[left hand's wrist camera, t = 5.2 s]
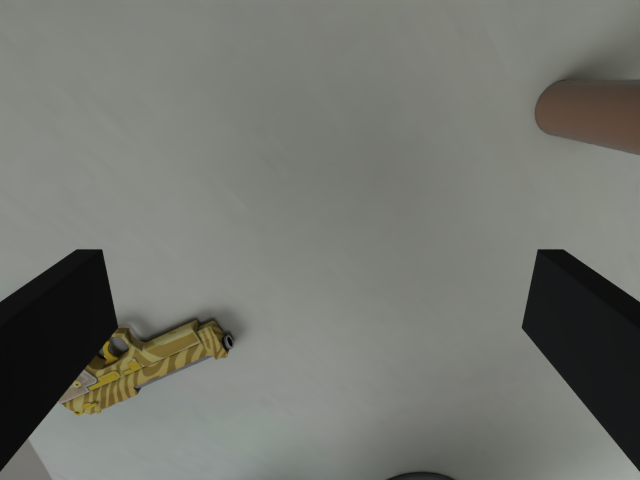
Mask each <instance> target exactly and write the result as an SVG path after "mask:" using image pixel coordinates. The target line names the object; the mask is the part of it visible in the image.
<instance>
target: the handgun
mask: <svg viewBox="0 0 640 480" xmlns="http://www.w3.org/2000/svg"><path fill="white" fill-rule="evenodd" d="M112 337H120V338H122V339H123V340H124V341H125V342H126V343H127V345H128V346H129V350H128V351H127V352H125V353H123V354H121V355H119V356H114V355H113V354H112V353H111V352H110V350H109V344H110V342H111V341H110V340H108V341H107V342H106V343H105V345H104V346H103V351H104V353H105V354H104V357H105V358H106V359H107V360H104V359H101V358H99V357H98V356H97V355H96V356H95V357H94V358H93V359H92V360H91V362H90V363H89V364H88V365H87V367H86V368H85V369H84V370H83V371H82V373H81V374H80V375H79V376H78V378H77V379H76V380H75V381H74V382H73V384H72V385H71V386H70V387H69V388H68V390H67V391H66V392H65V393H64V395H63V396H62V397H61V398H60V399H59V401H58V402H57V403H58V404H63V405H64V406H65V407H66V408H67V409H69V410H72V411H73V412H74V413H75V414H76V415H82V414H83V413H85V414H90V415H91V414H93V413H95V412H97V413H101V410H102V409H105V408H107V407H109V406H112V405H114V404H116V403H119V402H121V401H123V400H125V399H128V398H130V397H132V396H135V395H137V394H138V393H139V391H140V389H141V387H143V386H146V385H148V384H150V383H152V382H155V381H157V380H159V379H162V378H164V377H166V376H169V375H171V374H173V373H176V372H178V371H180V370H183V369H185V368H187V367H190V366H192V365H194V364H197V363H199V362H201V361H204V360H206V359H208V358H210V357H213V356H214V358H215V359H216V360H217V359H220V358H225V357H227V356H228V352H229V349H231V348H233V346H234V343H233V340H232V338H231V337H230V336H229V335H227V336H225V335H224V334H223V332H222V331H221V330H220V329H219V326H218V325H217V323H216V322H215V321H210V322H208V323H206V324H203V325H201V326H200V324H199V323H198V321H197V320H194V321H192V322H190V323H188V324H185V325H183V326H181V327H179V328H177V329H174V330H172V331H170V332H168V333H166V334H163V335H161V336H159V337H157V338H155V339H152V340H150V341H148V342H141V341H139V340H137V339H136V338H134V337H133V335H132V334H131V333H130V331H129V328H118V329H117V330H116V331H115V332H114V334H113V335H112Z"/></svg>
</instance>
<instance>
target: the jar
mask: <svg viewBox="0 0 640 480" xmlns="http://www.w3.org/2000/svg"><path fill="white" fill-rule="evenodd" d="M535 119H536V122H537V124H538V126H539V128H540V129H541V130H542V131H543V132H545V133H547V134H549V135H553V136H557V137H562V138H566V139H570V140H575V141H579V142H584V143H588V144H592V145H597V146H601V147H605V148H610V149H614V150H618V151H623V152H627V153H631V154H636V155H640V79H623V80H563V81H559V82H556V83H554V84H552V85H551V86H549V87H548V88H547V89H546V90H545V91H544V92H543V93H542V95H541V96H540V98H539V99H538V102H537V104H536V108H535Z"/></svg>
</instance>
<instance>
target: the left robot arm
mask: <svg viewBox="0 0 640 480" xmlns="http://www.w3.org/2000/svg"><path fill="white" fill-rule="evenodd" d="M117 329H118V324H117V319H116V314H115V310H114V305H113V300H112V295H111V290H110V285H109V280H108V276H107V271H106V266H105V261H104V256H103V251H102V249H77V250H75V251H74V252H72V253H71V254H69V255H68V256H66V257H65V258H64V259H62V260H61V261H59V262H58V263H56V264H55V265H53V266H52V267H50V268H49V269H48V270H46V271H45V272H43V273H42V274H40V275H39V276H37V277H36V278H34V279H33V280H32V281H30V282H29V283H27V284H26V285H24V286H23V287H21V288H20V289H18V290H17V291H16V292H14V293H13V294H11V295H10V296H8V297H7V298H5V299H4V300H3V301H1V302H0V471H1V470H2V469H3V468H4V466H5V465H6V464H7V463H8V462H9V460H10V459H11V458H12V457H13V455H14V454H15V453H16V452H17V451H18V449H19V448H20V447H21V446H22V445H23V443H24V442H25V441H26V440H27V438H28V437H29V436H30V435H31V434H32V432H33V431H34V430H35V429H36V427H37V426H38V425H39V424H40V423H41V421H42V420H43V419H44V418H45V417H46V415H47V414H48V413H49V412H50V410H51V409H52V408H53V407H54V406H55V404H56V403H57V402H58V401H59V399H60V398H61V397H62V396H63V395H64V393H65V392H66V391H67V390H68V388H69V387H70V386H71V385H72V384H73V382H74V381H75V380H76V379H77V378H78V376H79V375H80V374H81V373H82V371H83V370H84V369H85V368H86V367H87V365H88V364H89V363H90V362H91V360H92V359H93V358H94V357H95V356H96V354H97V353H98V352H99V351H100V349H101V348H102V347H103V346H104V345H105V343H106V342H107V341H108V340H109V339H110V337H111V336H112V335H113V334H114V332H115V331H116V330H117ZM522 329H523V330H524V331H525V332H526V334H527V335H528V336H529V337H530V339H531V340H532V341H533V342H534V343H535V345H536V346H537V347H538V348H539V349H540V351H541V352H542V353H543V354H544V356H545V357H546V358H547V359H548V360H549V362H550V363H551V364H552V365H553V367H554V368H555V369H556V370H557V371H558V373H559V374H560V375H561V376H562V378H563V379H564V380H565V381H566V382H567V384H568V385H569V386H570V387H571V388H572V390H573V391H574V392H575V393H576V395H577V396H578V397H579V398H580V399H581V401H582V402H583V403H584V404H585V406H586V407H587V408H588V409H589V410H590V412H591V413H592V414H593V415H594V417H595V418H596V419H597V420H598V421H599V423H600V424H601V425H602V426H603V427H604V429H605V430H606V431H607V432H608V434H609V435H610V436H611V437H612V438H613V440H614V441H615V442H616V443H617V445H618V446H619V447H620V448H621V449H622V451H623V452H624V453H625V454H626V456H627V457H628V458H629V459H630V460H631V462H632V463H633V464H634V465H635V466H636V468H637V469H638V470H639V471H640V302H639V301H637V300H636V299H635V298H633V297H632V296H630V295H629V294H627V293H626V292H624V291H623V290H622V289H620V288H619V287H617V286H616V285H614V284H613V283H611V282H610V281H608V280H607V279H606V278H604V277H603V276H601V275H600V274H598V273H597V272H595V271H594V270H592V269H591V268H590V267H588V266H587V265H585V264H584V263H582V262H581V261H579V260H578V259H576V258H575V257H574V256H572V255H571V254H569V253H568V252H566V251H565V250H563V249H538V251H537V256H536V261H535V266H534V271H533V276H532V280H531V285H530V290H529V295H528V300H527V305H526V310H525V314H524V319H523V324H522ZM391 480H452V479H450V478H447V477H445V476H441V475H436V474H429V473H415V474H408V475H403V476H399V477H396V478H394V479H391Z"/></svg>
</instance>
